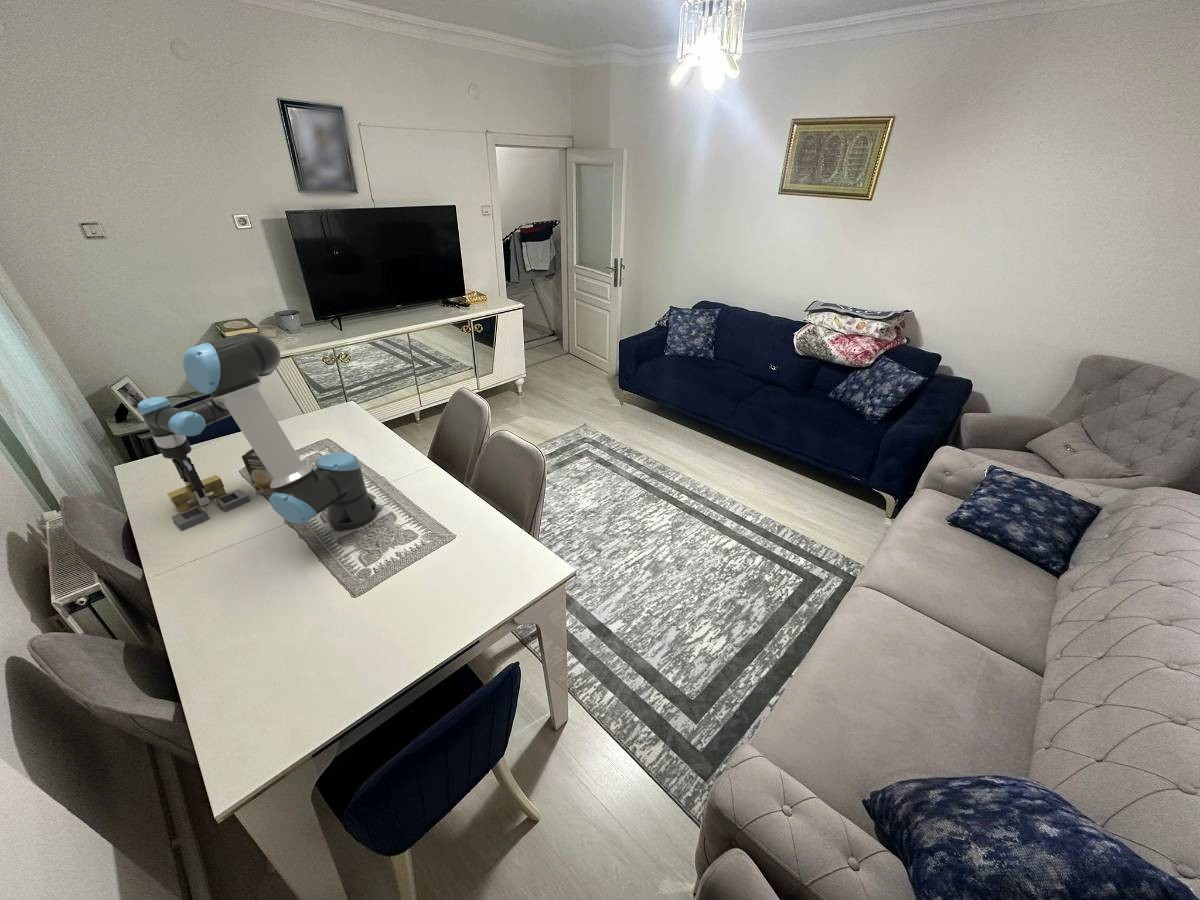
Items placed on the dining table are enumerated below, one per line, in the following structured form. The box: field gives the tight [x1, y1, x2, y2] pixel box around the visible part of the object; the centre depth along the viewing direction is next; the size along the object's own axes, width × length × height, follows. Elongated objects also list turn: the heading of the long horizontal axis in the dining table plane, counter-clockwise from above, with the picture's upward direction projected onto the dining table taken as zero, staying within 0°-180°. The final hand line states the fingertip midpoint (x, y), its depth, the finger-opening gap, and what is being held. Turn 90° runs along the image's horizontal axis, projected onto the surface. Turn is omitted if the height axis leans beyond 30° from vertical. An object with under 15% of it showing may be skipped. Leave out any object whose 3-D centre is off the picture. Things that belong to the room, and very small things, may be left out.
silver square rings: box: [171, 488, 251, 531], centre depth 162 cm, size 7×20×2 cm, turn 144°
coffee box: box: [241, 447, 274, 496], centre depth 170 cm, size 9×6×16 cm
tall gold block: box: [166, 474, 227, 514], centre depth 166 cm, size 4×14×6 cm, turn 144°
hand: (201, 500), depth 168 cm, fingers open, 6 cm apart
